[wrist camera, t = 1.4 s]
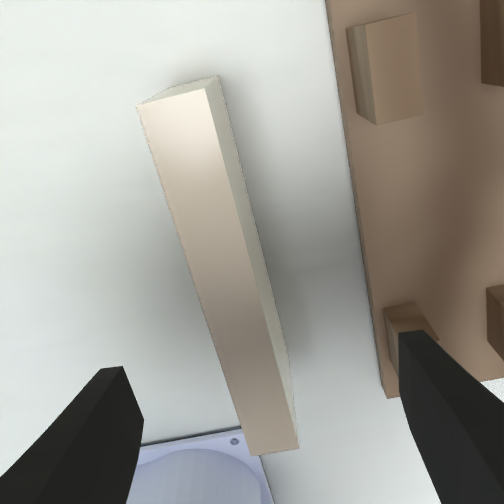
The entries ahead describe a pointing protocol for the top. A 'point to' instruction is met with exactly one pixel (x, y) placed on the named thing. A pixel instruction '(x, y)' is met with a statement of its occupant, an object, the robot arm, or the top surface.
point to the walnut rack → (427, 170)
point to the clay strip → (224, 255)
